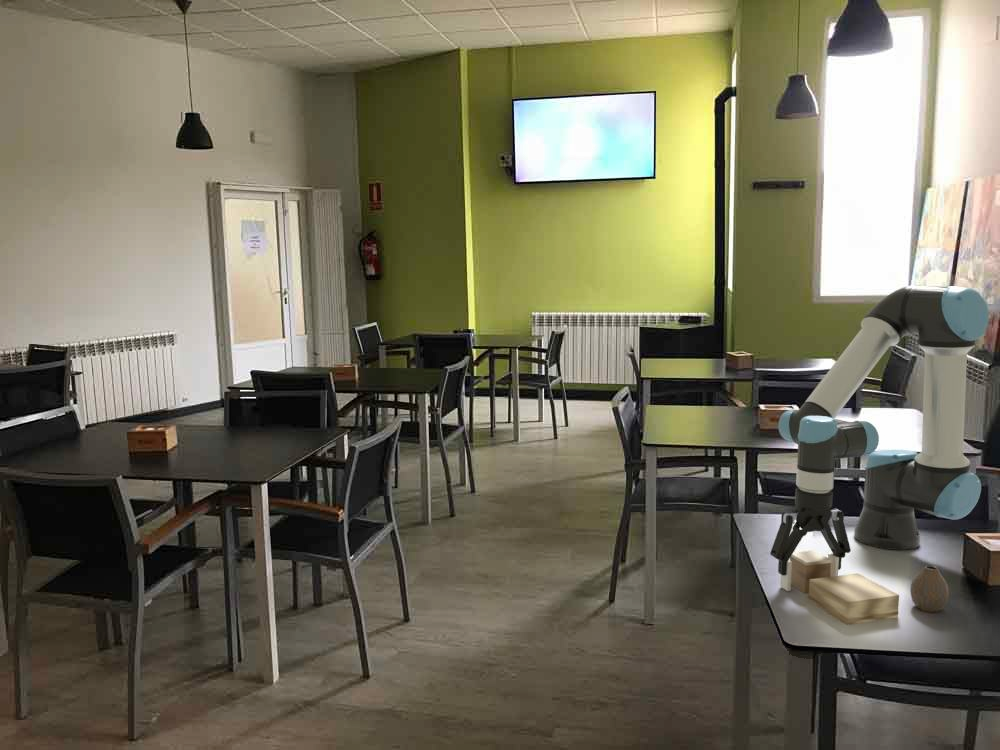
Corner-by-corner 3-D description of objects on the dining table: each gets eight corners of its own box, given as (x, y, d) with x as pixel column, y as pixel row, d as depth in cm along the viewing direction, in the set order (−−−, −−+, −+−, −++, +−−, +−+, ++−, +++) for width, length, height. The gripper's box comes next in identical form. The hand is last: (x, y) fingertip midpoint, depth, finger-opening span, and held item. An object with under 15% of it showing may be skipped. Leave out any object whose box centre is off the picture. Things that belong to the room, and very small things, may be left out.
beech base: (856, 595, 178) (857, 573, 178) (897, 618, 167) (899, 595, 166) (808, 602, 175) (809, 579, 174) (846, 626, 164) (848, 602, 163)
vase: (927, 617, 167) (930, 575, 166) (901, 603, 173) (904, 563, 172) (955, 613, 169) (958, 571, 168) (928, 599, 175) (931, 559, 174)
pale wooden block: (812, 580, 186) (814, 550, 185) (829, 591, 180) (831, 560, 179) (788, 583, 184) (789, 552, 183) (804, 594, 178) (806, 562, 177)
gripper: (850, 480, 185) (844, 575, 188) (756, 487, 180) (751, 584, 183) (872, 489, 178) (866, 587, 181) (775, 496, 172) (770, 598, 176)
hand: (808, 586), depth 182 cm, fingers open, 11 cm apart
